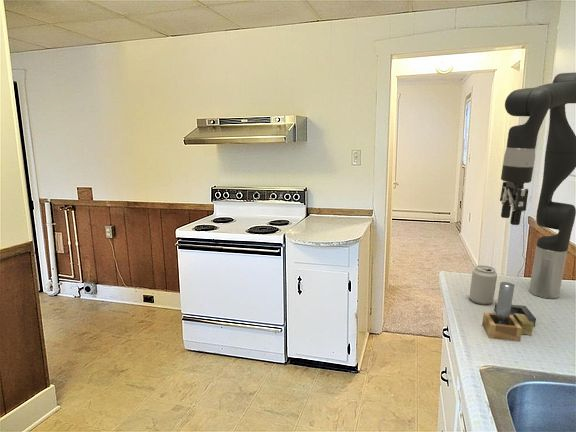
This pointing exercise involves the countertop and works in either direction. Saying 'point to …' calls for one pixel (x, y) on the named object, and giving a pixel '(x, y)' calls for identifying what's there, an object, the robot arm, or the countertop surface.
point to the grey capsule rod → (504, 303)
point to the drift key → (524, 323)
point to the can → (483, 284)
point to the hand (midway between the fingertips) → (509, 221)
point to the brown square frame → (501, 328)
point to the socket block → (521, 312)
